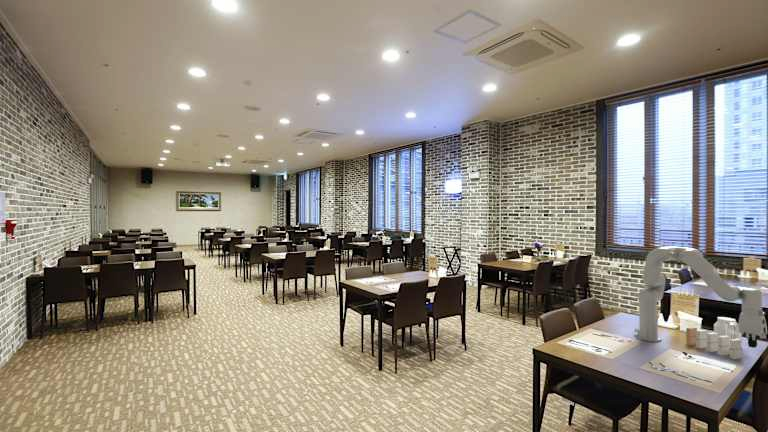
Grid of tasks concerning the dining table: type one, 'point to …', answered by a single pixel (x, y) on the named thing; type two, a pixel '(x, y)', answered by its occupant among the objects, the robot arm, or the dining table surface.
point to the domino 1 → (691, 335)
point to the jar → (722, 325)
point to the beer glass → (732, 331)
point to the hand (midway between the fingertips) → (752, 346)
